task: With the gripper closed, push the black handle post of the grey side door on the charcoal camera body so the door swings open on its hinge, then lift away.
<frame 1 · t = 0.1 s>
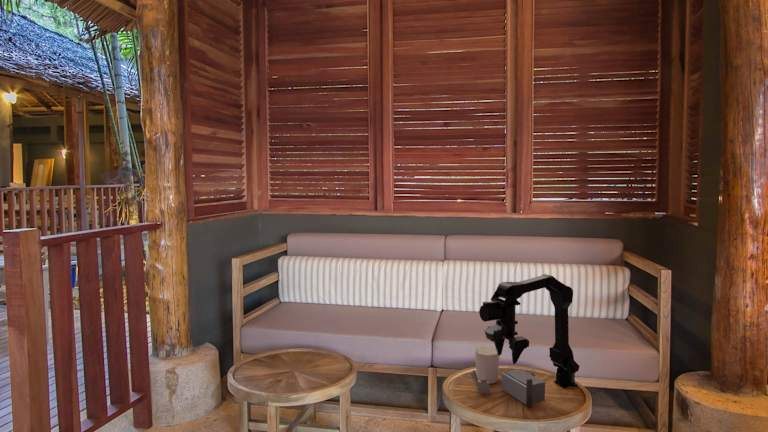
hand: (506, 359, 190), 15 cm above the table, tool pointing down, fingers open, 9 cm apart
lighter: (479, 392, 197), on the table
camera body: (523, 394, 193), on the table
external hard drive: (520, 380, 208), on the table
side door: (516, 384, 190), point 5 cm above the table, hinge at 0.0°
candle holder: (487, 380, 208), on the table
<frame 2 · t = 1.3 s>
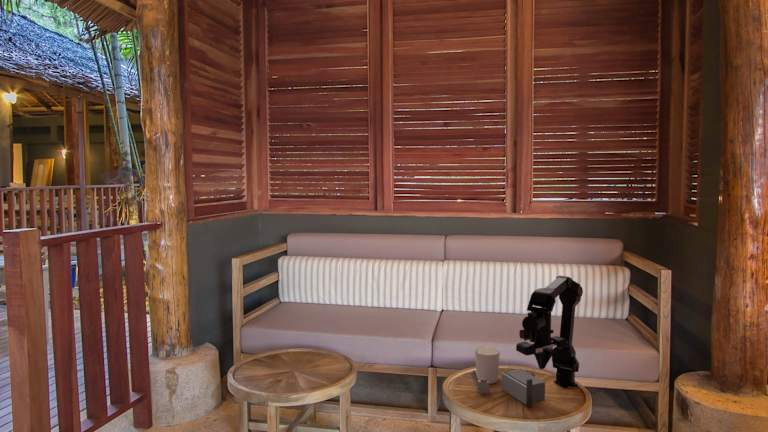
hand: (541, 368, 185), 13 cm above the table, tool pointing down, fingers closed
nothing on the table moved.
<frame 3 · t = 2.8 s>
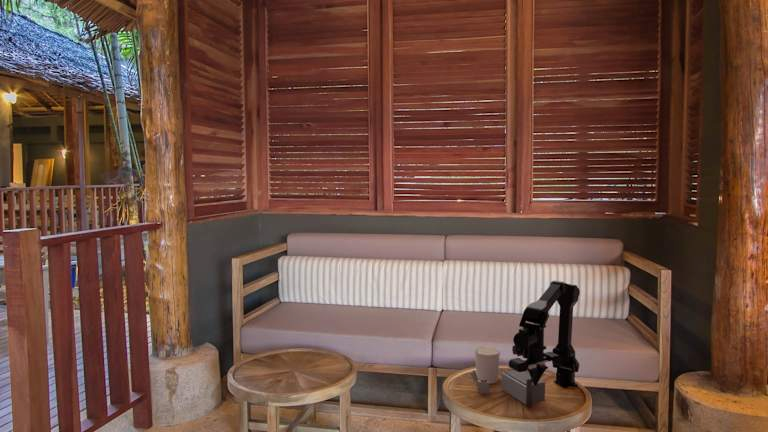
hand: (534, 385, 184), 8 cm above the table, tool pointing down, fingers closed
side door: (516, 384, 190), point 5 cm above the table, hinge at 0.3°, touching gripper
everything else where it was.
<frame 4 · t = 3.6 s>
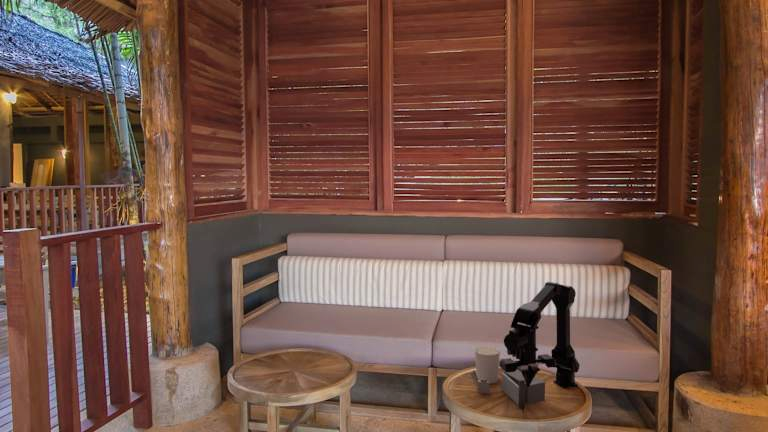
hand: (527, 386, 182), 8 cm above the table, tool pointing down, fingers closed
side door: (512, 385, 189), point 5 cm above the table, hinge at 11.5°, touching gripper
everything else where it was.
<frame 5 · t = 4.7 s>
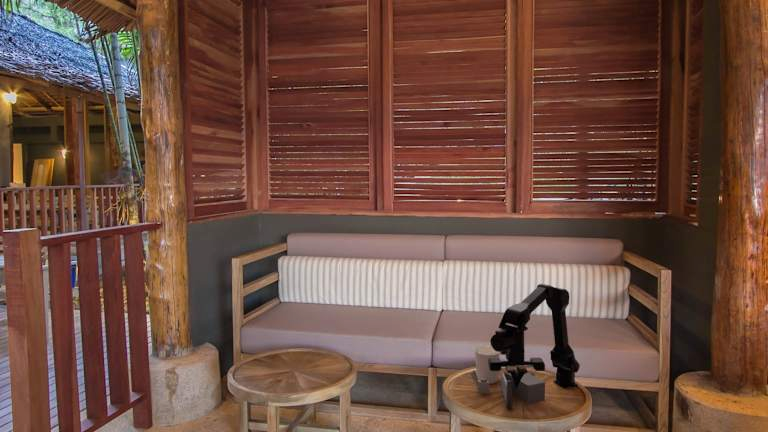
hand: (516, 387, 182), 8 cm above the table, tool pointing down, fingers closed
side door: (506, 385, 189), point 5 cm above the table, hinge at 27.5°, touching gripper
everything else where it was.
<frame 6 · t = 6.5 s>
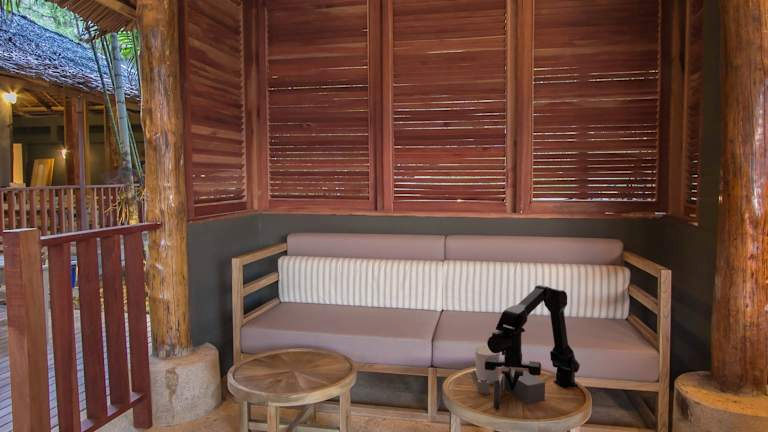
hand: (512, 389, 181), 7 cm above the table, tool pointing down, fingers closed
side door: (499, 385, 190), point 5 cm above the table, hinge at 43.8°
everything else where it was.
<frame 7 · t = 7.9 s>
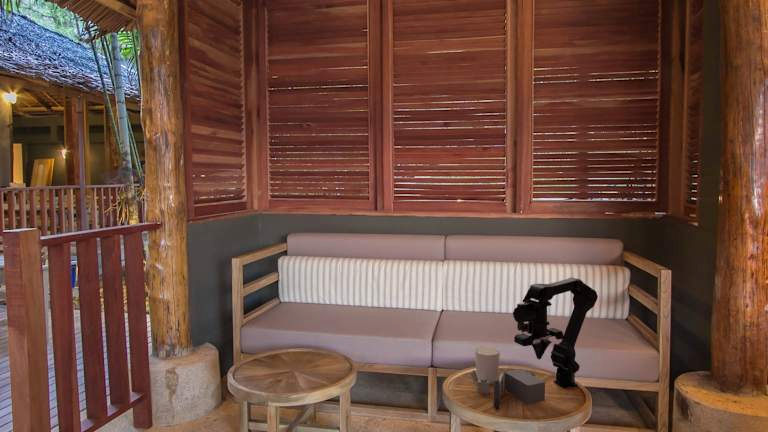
hand: (538, 358, 195), 13 cm above the table, tool pointing down, fingers closed
nothing on the table moved.
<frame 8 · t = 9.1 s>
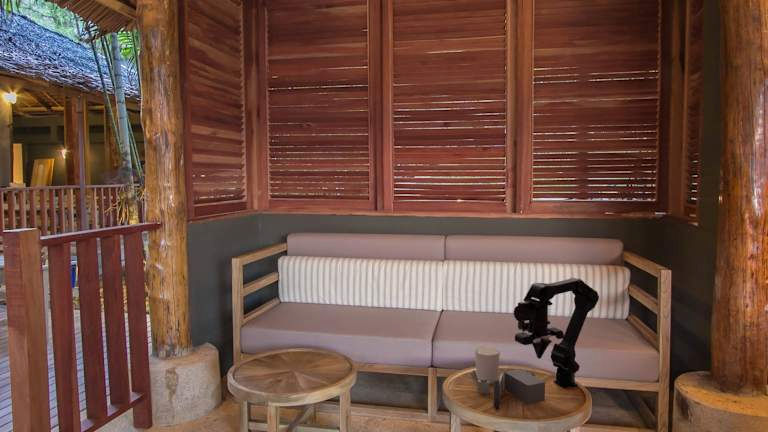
hand: (539, 358, 195), 13 cm above the table, tool pointing down, fingers closed
nothing on the table moved.
at the end: side door at +44° (first picture: +0°); lighter moved 0.2 cm from its start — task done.
